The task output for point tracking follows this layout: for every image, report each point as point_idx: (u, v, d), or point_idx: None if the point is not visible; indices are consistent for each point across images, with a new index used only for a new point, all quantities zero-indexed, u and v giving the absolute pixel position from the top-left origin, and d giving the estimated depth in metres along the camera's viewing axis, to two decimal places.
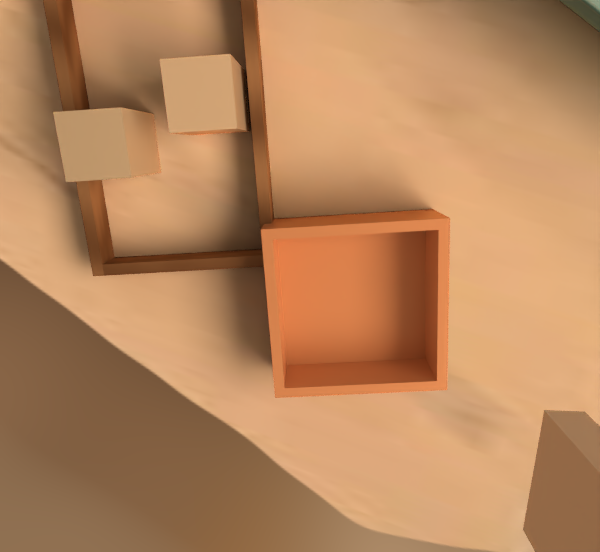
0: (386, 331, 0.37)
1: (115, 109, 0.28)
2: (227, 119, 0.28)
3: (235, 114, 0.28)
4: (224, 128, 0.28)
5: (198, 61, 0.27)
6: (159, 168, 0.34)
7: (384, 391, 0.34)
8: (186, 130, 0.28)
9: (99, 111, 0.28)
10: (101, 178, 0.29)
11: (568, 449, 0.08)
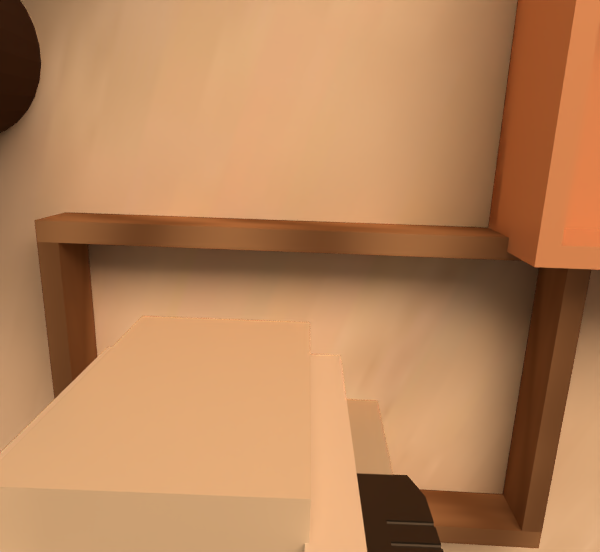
0: None
1: None
2: (265, 533, 0.06)
3: (245, 494, 0.06)
4: (304, 547, 0.06)
5: None
6: (371, 403, 0.21)
7: None
8: None
9: None
10: None
11: None
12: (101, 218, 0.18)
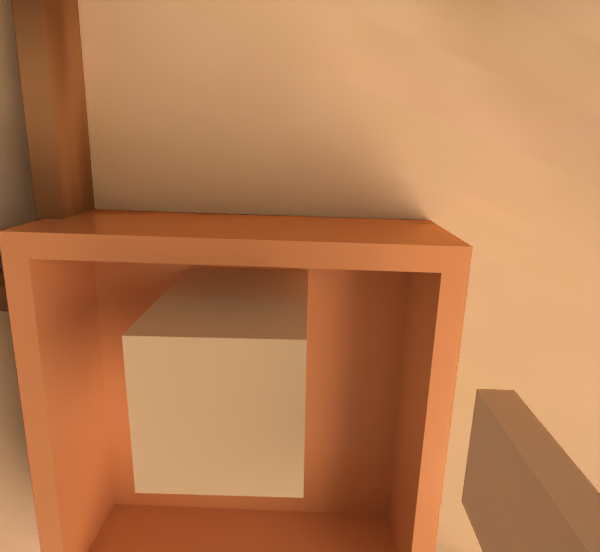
0: (314, 458, 0.18)
1: None
2: (281, 361, 0.11)
3: (270, 339, 0.11)
4: (303, 370, 0.11)
5: (140, 411, 0.11)
6: None
7: None
8: (300, 459, 0.11)
9: None
10: None
11: (492, 421, 0.09)
12: None
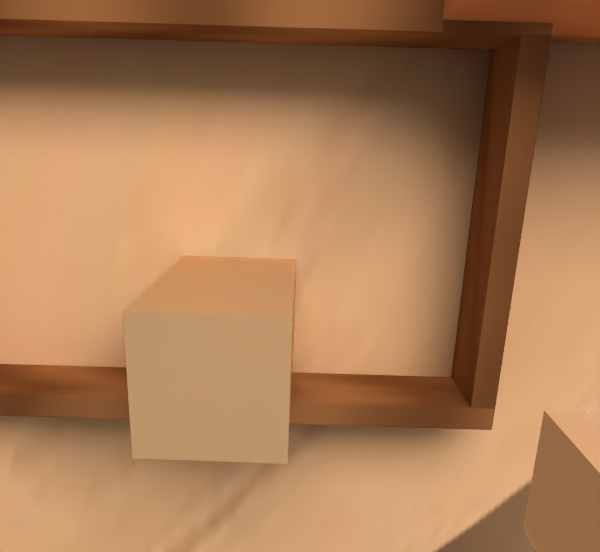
0: None
1: (128, 326, 0.12)
2: None
3: None
4: None
5: None
6: (287, 261, 0.17)
7: None
8: None
9: (131, 361, 0.12)
10: (286, 387, 0.12)
11: (568, 449, 0.08)
12: None
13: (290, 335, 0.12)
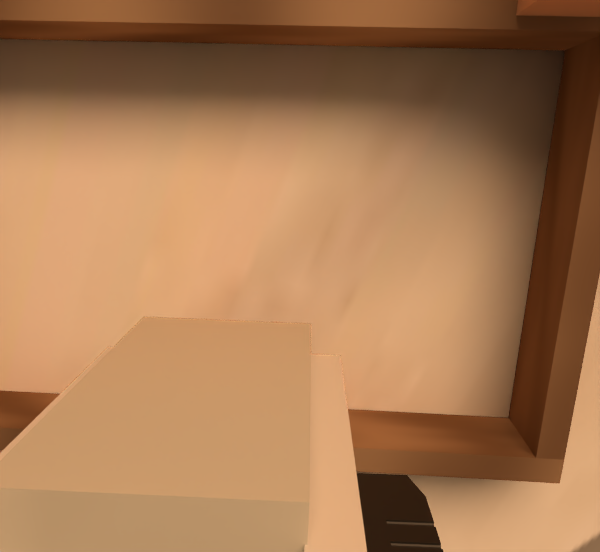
0: None
1: None
2: None
3: None
4: None
5: None
6: (298, 328, 0.11)
7: None
8: None
9: None
10: None
11: None
12: None
13: (305, 536, 0.06)
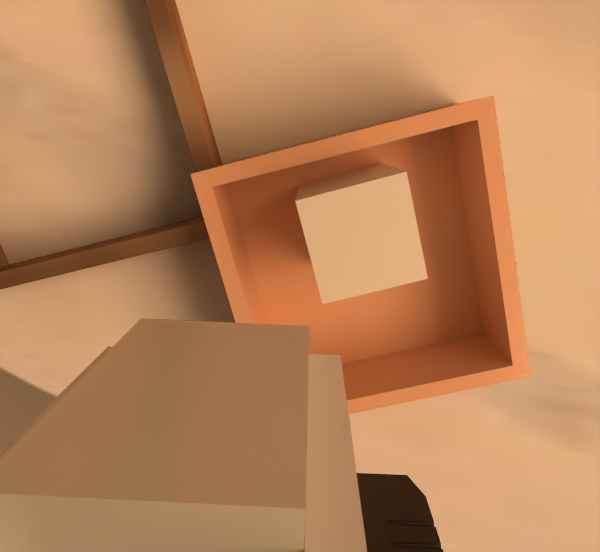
0: (419, 302, 0.24)
1: None
2: (394, 189, 0.17)
3: (384, 178, 0.17)
4: (408, 192, 0.17)
5: (315, 247, 0.18)
6: (296, 330, 0.11)
7: (432, 394, 0.22)
8: (420, 252, 0.18)
9: None
10: None
11: None
12: None
13: (301, 542, 0.06)
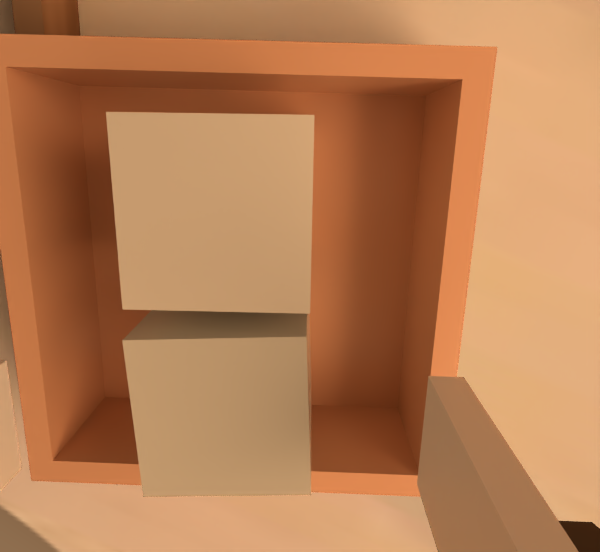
0: (319, 344, 0.17)
1: (129, 355, 0.11)
2: (286, 142, 0.09)
3: (273, 116, 0.09)
4: (310, 155, 0.09)
5: (127, 207, 0.10)
6: None
7: None
8: (307, 265, 0.10)
9: (135, 393, 0.11)
10: (305, 412, 0.11)
11: (439, 406, 0.09)
12: None
13: (305, 356, 0.10)
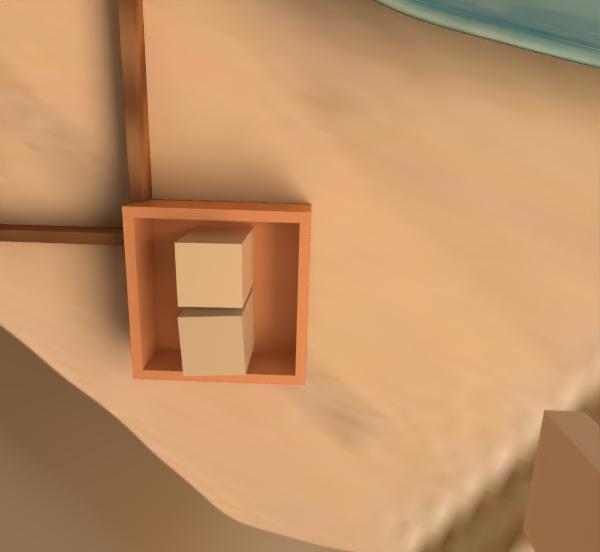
0: (259, 323, 0.36)
1: (180, 322, 0.30)
2: (232, 252, 0.29)
3: (228, 244, 0.29)
4: (241, 256, 0.29)
5: (180, 272, 0.29)
6: None
7: (242, 381, 0.34)
8: (240, 291, 0.30)
9: (181, 336, 0.30)
10: (242, 343, 0.30)
11: (568, 449, 0.08)
12: None
13: (241, 322, 0.30)
